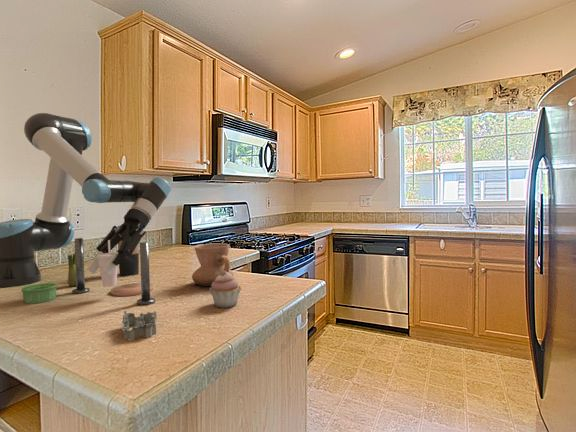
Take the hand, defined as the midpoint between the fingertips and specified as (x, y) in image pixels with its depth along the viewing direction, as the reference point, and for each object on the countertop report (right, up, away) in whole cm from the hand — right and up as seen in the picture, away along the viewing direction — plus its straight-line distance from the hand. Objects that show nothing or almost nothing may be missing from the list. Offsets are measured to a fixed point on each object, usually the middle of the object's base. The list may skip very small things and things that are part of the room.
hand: (98, 272), depth 104 cm
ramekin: (-20, -9, +3) cm, 22 cm away
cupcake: (+39, -9, -4) cm, 40 cm away
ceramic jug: (+31, -8, +20) cm, 37 cm away
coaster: (+5, -8, +12) cm, 16 cm away
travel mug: (-8, -7, +38) cm, 40 cm away
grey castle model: (+23, -10, -23) cm, 34 cm away
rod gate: (+1, -9, +5) cm, 10 cm away
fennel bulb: (-19, -8, +20) cm, 29 cm away
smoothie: (+2, -5, +4) cm, 6 cm away
